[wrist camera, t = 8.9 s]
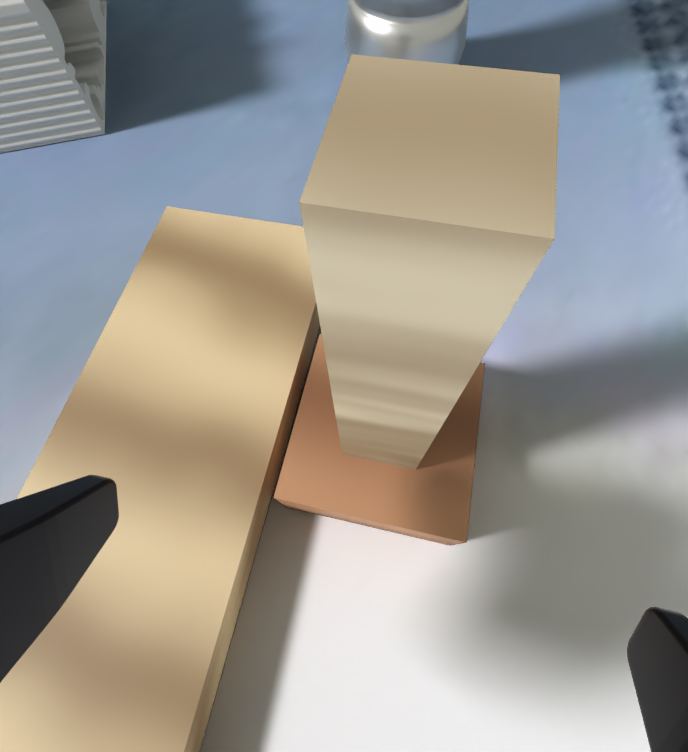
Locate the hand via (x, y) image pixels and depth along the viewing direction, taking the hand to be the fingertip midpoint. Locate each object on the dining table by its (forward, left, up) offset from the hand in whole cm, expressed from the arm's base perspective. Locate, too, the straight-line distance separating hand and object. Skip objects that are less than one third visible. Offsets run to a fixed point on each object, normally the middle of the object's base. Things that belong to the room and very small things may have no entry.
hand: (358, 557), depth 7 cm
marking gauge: (+4, -2, -8) cm, 9 cm away
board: (+5, +6, -8) cm, 11 cm away
